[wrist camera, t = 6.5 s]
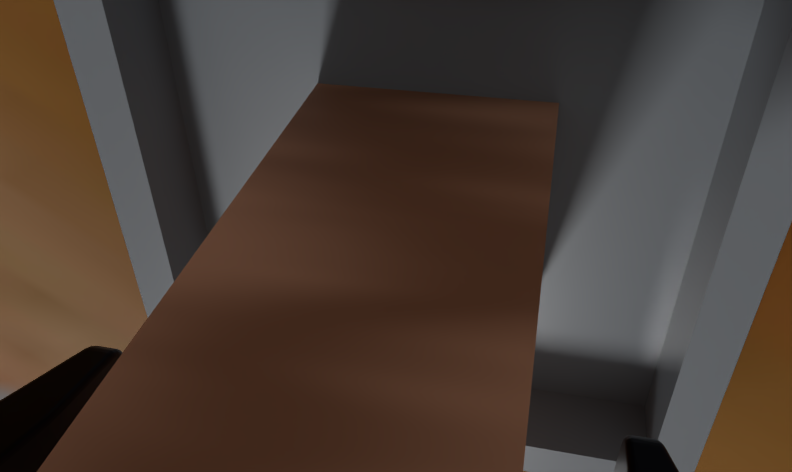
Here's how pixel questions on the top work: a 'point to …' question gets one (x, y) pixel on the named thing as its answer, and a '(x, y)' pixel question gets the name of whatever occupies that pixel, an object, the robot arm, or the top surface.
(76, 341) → the top surface
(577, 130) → the grey rectangular bin
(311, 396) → the terracotta peg
